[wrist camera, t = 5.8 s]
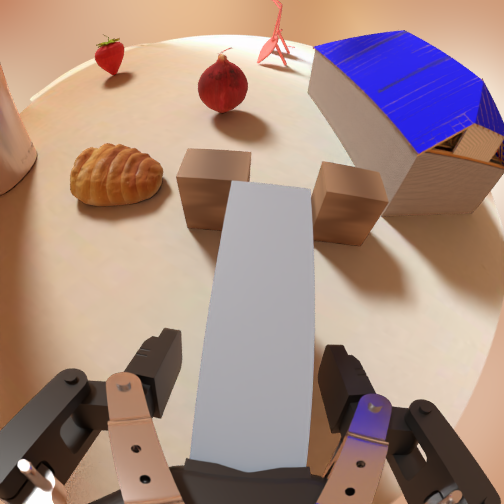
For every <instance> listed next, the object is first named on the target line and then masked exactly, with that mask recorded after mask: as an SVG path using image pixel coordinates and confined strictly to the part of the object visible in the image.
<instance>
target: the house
mask: <svg viewBox="0 0 504 504" xmlns="http://www.w3.org/2000/svg"><path fill="white" fill-rule="evenodd" d="M313 49H315V55H314V60H313V66H312V71H311V77H310V82H309V88H308V94H309V95H310V97H311V98H312V100H313V101H314V102H315V104H316V105H317V107H318V108H319V110H320V111H321V112H322V114H323V115H324V117H325V118H326V120H327V121H328V123H329V124H330V126H331V127H332V129H333V131H334V132H335V134H336V135H337V137H338V138H339V140H340V142H341V143H342V145H343V147H344V148H345V150H346V152H347V153H348V155H349V157H350V158H351V160H352V162H353V164H354V165H355V167H357V168H362V169H367V170H371V171H376V172H379V173H380V175H381V179H382V182H383V185H384V188H385V191H386V194H387V198H388V201H389V203H388V204H387V206H386V208H385V209H384V211H383V212H382V214H381V216H403V215H428V214H462V213H473V212H474V210H475V209H476V208H477V207H478V206H479V205H480V203H481V202H482V201H483V200H484V198H485V197H486V196H487V195H488V193H489V192H490V191H491V189H492V188H493V187H494V186H495V184H496V183H497V182H498V180H499V179H500V178H501V176H502V175H503V174H504V122H503V120H502V118H501V115H500V113H499V111H498V109H497V107H496V104H495V102H494V100H493V98H492V96H491V94H490V93H489V91H488V89H487V87H486V85H485V83H484V81H483V79H480V78H479V77H478V76H476V75H475V74H474V73H473V72H471V71H470V70H469V69H467V68H466V67H464V66H463V65H462V64H460V63H459V62H457V61H456V60H454V59H453V58H451V57H450V56H448V55H447V54H445V53H444V52H442V51H441V50H439V49H437V48H436V47H434V46H432V45H430V44H429V43H427V42H425V41H423V40H422V39H420V38H418V37H416V36H415V35H413V34H411V33H409V32H407V31H405V30H403V31H393V32H384V33H377V34H371V35H364V36H359V37H353V38H348V39H344V40H339V41H335V42H330V43H326V44H322V45H318V46H315V47H313Z"/></svg>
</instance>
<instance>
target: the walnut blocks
mask: <svg viewBox="0 0 504 504" xmlns="http://www.w3.org/2000/svg"><path fill="white" fill-rule="evenodd" d="M250 165H251V152H242V151H229V150H212V149H187V152H186V154H185V157H184V159H183V161H182V164H181V166H180V169H179V171H178V174H177V176H176V178H177V183H178V188H179V192H180V197H181V201H182V206H183V210H184V215H185V219H186V223H187V227H188V228H197V229H208V230H219V231H222V229H223V224H224V218H225V213H226V208H227V203H228V197H229V192H230V187H231V182H232V181H244V182H249V180H250ZM388 203H389V201H388V198H387V194H386V191H385V188H384V185H383V182H382V179H381V175H380V173H379V172H376V171H371V170H367V169H362V168H357V167H352V166H347V165H341V164H336V163H330V162H324V161H322V165H321V168H320V171H319V174H318V178H317V181H316V184H315V187H314V190H313V193H312V197H311V207H312V224H313V240H315V241H324V242H332V243H341V244H349V245H357V246H361V244H362V243H363V241H364V240H365V239H366V237H367V236H368V234H369V233H370V231H371V229H372V228H373V226H374V225H375V223H376V222H377V220H378V219H379V217H380V216H381V214H382V212H383V211H384V209H385V208H386V206H387V204H388Z"/></svg>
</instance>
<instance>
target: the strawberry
mask: <svg viewBox="0 0 504 504" xmlns="http://www.w3.org/2000/svg"><path fill="white" fill-rule="evenodd" d="M108 38H109V37H108ZM118 40H119V39H115V40H114V39H112V40H109V39H108V42H103V43H100V44H98V45H101V46H102V47H101V46H99V47H100V48H99V49H98V50H97V52H96V53H95V60H96V62H97V64H98V65H99V66H100V67H101V68H102V69H104V70H105V71H107V72H109V73H110V74H112V75H115V74H117V72H118V69H119V67H120V65H121V62H122V59H123V56H124V46H123V44H122V43H120V42H115V41H118Z"/></svg>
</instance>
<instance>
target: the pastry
mask: <svg viewBox="0 0 504 504" xmlns="http://www.w3.org/2000/svg"><path fill="white" fill-rule="evenodd" d="M162 176H163V168H162V167H161V165H160V163H159V162H157V161H155V160H154V159H152V158H151V157H150V156H149V155H148V154H144V153H141V152H140V151H138V150H137V149H136V148H132V149H131V148H129V147H126V146H124V145H121V144H118V145H116V146H115V145H113V144H108V143H106V144H104V145H102V146H101V147H100V148H99V149H98V148H93V147H90V148H88V149H86V150H84V151H83V152H82V153H81V154H80V155H79V156H78V157H77V159H76V160H75V163H74V167H73V169H72V171H71V175H70V190H71V193H72V194H73V195H74V196H75V197H76V198H78V199H79V200H80V201H82V202H84V203H85V204H90V205H94V206H115V205H126V204H133V203H138V202H140V201H142V200H145V199H149V198H151V197H152V196H153V195H154V194H155V193H156V192H157V191H158V189H159V187H160V186H161V183H162Z"/></svg>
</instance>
